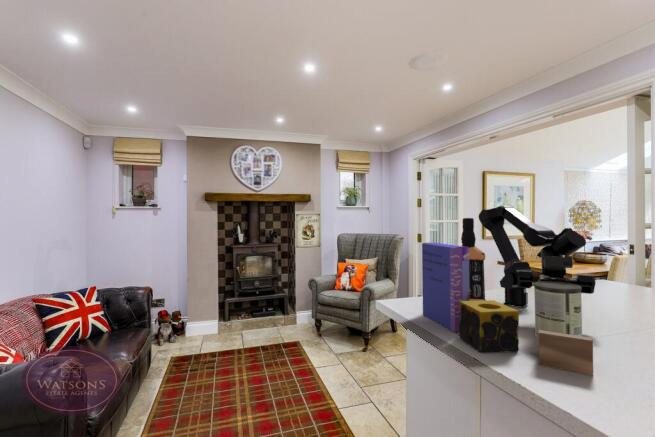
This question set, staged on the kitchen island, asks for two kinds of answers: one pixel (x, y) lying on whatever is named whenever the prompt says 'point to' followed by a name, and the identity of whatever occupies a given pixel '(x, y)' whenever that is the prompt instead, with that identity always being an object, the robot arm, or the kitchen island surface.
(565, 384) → the kitchen island surface
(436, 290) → the cereal box
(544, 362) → the wooden block
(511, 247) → the robot arm
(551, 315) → the coffee can
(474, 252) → the whiskey bottle
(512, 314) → the yellow cube with hole
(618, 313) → the kitchen island surface
